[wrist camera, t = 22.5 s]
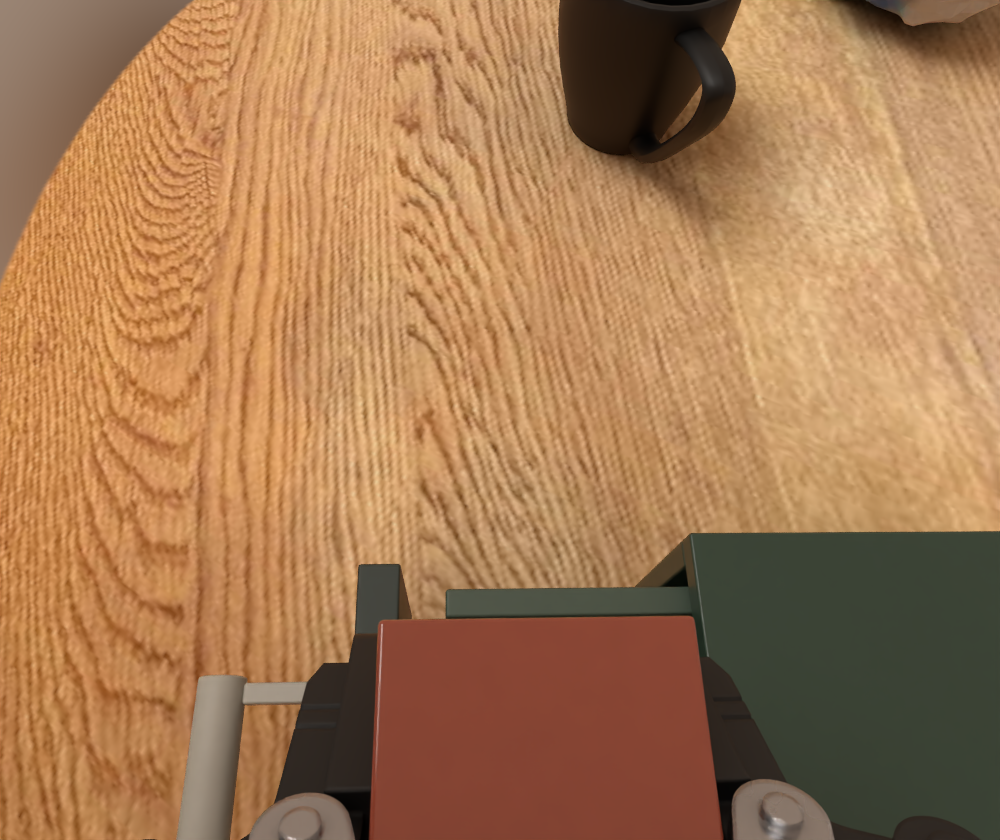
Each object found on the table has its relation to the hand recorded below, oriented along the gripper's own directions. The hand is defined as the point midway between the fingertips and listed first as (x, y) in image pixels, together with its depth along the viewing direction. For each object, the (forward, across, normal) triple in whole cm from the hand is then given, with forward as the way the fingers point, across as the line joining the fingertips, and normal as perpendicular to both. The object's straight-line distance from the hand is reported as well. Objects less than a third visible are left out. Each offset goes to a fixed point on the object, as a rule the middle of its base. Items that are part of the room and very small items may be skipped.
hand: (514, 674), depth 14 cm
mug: (+32, -8, -9) cm, 34 cm away
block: (+2, 0, +4) cm, 4 cm away
